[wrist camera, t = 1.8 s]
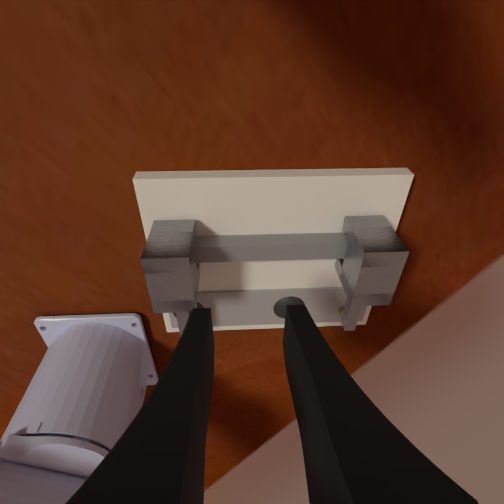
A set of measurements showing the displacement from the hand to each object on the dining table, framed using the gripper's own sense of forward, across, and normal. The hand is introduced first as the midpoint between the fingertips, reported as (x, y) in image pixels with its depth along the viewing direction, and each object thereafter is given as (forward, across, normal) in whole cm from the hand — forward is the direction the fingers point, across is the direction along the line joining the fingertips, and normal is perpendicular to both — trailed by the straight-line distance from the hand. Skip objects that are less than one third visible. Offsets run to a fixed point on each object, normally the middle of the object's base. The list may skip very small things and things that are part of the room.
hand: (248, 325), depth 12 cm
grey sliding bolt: (+9, -8, +5) cm, 13 cm away
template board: (+10, -2, +5) cm, 12 cm away
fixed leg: (+9, +4, +5) cm, 11 cm away
